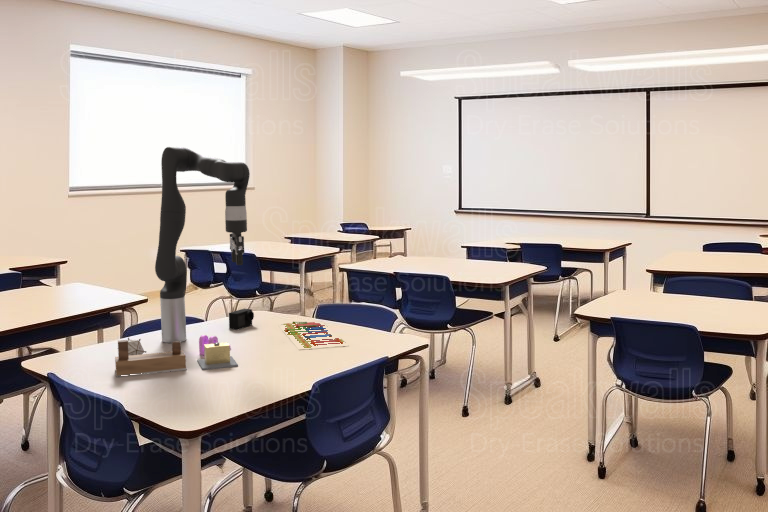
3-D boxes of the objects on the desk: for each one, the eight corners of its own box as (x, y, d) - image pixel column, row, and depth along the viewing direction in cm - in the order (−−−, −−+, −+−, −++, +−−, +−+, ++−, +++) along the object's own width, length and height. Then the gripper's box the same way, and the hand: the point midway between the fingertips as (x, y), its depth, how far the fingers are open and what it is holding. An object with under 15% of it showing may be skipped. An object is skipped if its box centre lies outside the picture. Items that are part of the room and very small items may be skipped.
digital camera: (239, 330, 307) (239, 313, 306) (229, 329, 310) (228, 312, 309) (254, 325, 316) (254, 309, 316) (244, 324, 319) (243, 308, 318)
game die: (138, 370, 261) (155, 347, 261) (123, 368, 253) (141, 344, 254) (123, 355, 265) (140, 333, 265) (108, 352, 257) (125, 329, 257)
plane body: (115, 371, 247) (113, 339, 246) (184, 364, 255) (182, 333, 254) (116, 377, 240) (114, 344, 239) (186, 369, 248) (185, 337, 247)
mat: (197, 361, 259) (197, 359, 259) (231, 357, 264) (231, 356, 264) (202, 370, 248) (202, 368, 248) (238, 366, 253) (237, 364, 252)
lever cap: (204, 361, 257) (204, 342, 256) (227, 359, 260) (227, 340, 259) (206, 364, 252) (206, 345, 252) (230, 362, 255) (229, 343, 255)
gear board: (277, 320, 316) (321, 317, 322) (278, 326, 316) (322, 323, 322) (298, 345, 274) (349, 341, 280) (298, 351, 274) (349, 347, 280)
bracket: (212, 356, 266) (211, 337, 265) (199, 354, 268) (198, 336, 268) (233, 348, 278) (232, 330, 277) (221, 346, 280) (220, 328, 279)
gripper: (250, 219, 258) (251, 265, 260) (242, 216, 271) (243, 260, 273) (229, 220, 256) (230, 266, 258) (222, 217, 269) (223, 261, 271)
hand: (237, 263), depth 266 cm, fingers open, 8 cm apart
